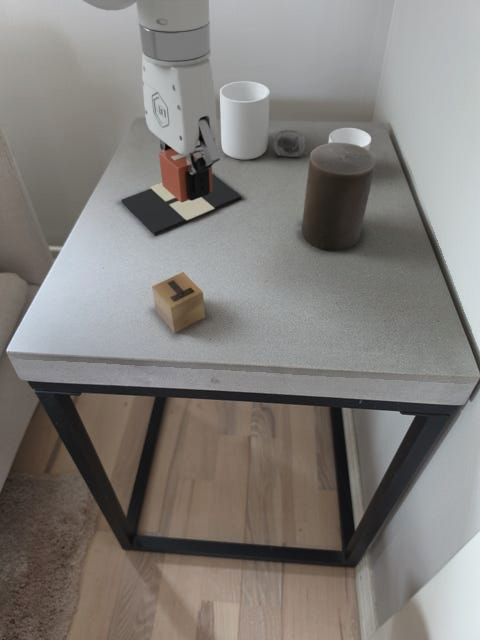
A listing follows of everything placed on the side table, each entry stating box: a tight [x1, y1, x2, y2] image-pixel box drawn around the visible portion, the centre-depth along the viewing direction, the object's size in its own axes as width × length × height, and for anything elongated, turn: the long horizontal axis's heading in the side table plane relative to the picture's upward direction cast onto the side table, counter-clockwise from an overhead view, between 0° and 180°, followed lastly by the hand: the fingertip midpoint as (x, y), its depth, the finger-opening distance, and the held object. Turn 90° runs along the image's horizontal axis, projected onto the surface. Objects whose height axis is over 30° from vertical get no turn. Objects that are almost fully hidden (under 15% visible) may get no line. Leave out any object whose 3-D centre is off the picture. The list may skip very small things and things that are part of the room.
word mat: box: [121, 173, 242, 236], centre depth 87 cm, size 18×13×1 cm
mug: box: [219, 80, 271, 161], centre depth 96 cm, size 10×12×12 cm
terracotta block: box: [158, 148, 213, 203], centre depth 64 cm, size 5×5×5 cm
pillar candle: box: [301, 142, 377, 252], centre depth 75 cm, size 10×10×15 cm
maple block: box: [151, 271, 206, 334], centre depth 67 cm, size 5×5×5 cm
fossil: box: [272, 129, 306, 158], centre depth 97 cm, size 6×3×5 cm, turn 89°
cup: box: [327, 127, 372, 151], centre depth 91 cm, size 8×10×7 cm
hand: (187, 185), depth 66 cm, fingers closed on terracotta block, 5 cm apart
